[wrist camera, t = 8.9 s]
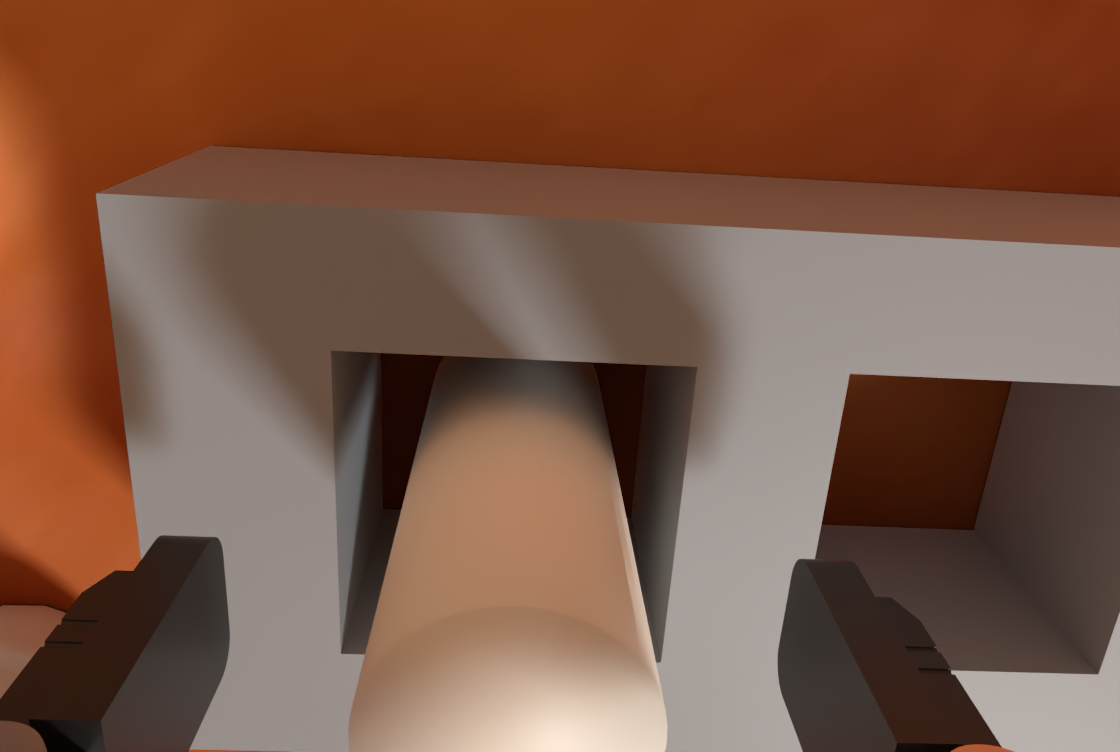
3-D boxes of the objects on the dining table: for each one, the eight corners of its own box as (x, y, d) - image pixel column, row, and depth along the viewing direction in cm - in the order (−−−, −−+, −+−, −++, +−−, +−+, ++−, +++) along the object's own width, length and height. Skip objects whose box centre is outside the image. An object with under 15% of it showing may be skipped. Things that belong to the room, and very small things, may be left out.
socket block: (1213, 202, 19) (1442, 264, 14) (1081, 613, 22) (1227, 771, 18) (210, 145, 18) (96, 193, 13) (244, 587, 21) (164, 748, 17)
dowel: (606, 321, 19) (683, 610, 10) (594, 476, 20) (651, 859, 11) (432, 314, 19) (343, 600, 10) (431, 470, 20) (351, 855, 11)
